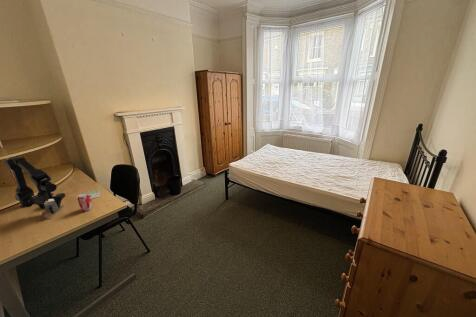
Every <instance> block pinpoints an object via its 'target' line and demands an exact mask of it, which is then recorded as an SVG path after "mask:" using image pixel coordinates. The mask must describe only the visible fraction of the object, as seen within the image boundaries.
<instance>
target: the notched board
mask: <svg viewBox="0 0 476 317" xmlns="http://www.w3.org/2000/svg"><path fill="white" fill-rule="evenodd" d="M55 203H56V202H55ZM56 206H57V204H56ZM64 207H66V205H65V204H64V205H63V204H61V205H60V208H58V206H57V208H58V211H57V212H56V213H53V214H51V212H50V209H46V208H45V209H44V210H43V211H42V212H41V215H42V218H41V219H40V221H47V220H52V219H53V218H54V217H55V216H56V215H57V214H59V212H60V211H61V210H62V209H63V208H64Z"/></svg>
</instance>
